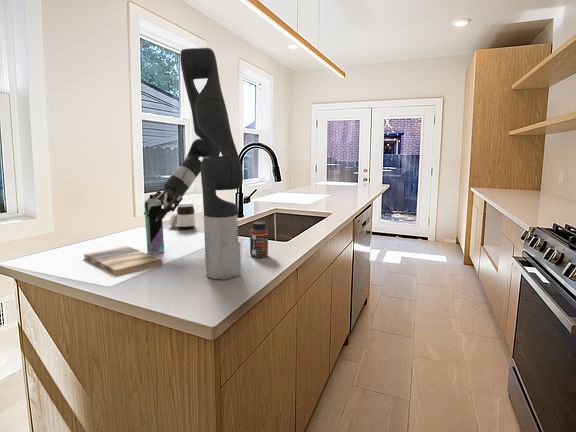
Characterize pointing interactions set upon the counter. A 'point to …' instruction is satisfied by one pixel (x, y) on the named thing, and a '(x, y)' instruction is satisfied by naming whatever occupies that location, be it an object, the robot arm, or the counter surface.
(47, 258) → the counter surface
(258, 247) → the supplement bottle
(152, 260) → the plywood panel
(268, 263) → the counter surface
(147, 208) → the spray can
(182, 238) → the counter surface
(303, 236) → the counter surface
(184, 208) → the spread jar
